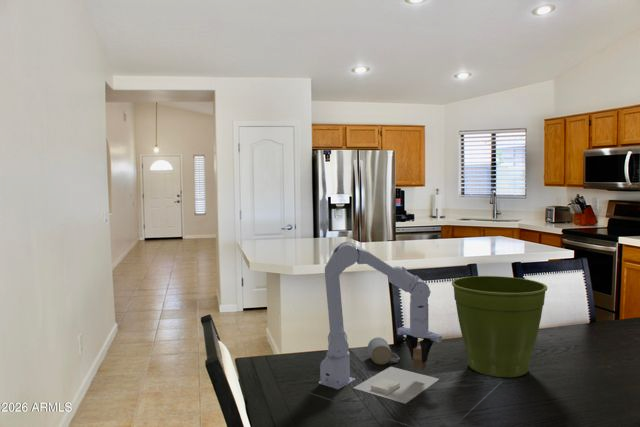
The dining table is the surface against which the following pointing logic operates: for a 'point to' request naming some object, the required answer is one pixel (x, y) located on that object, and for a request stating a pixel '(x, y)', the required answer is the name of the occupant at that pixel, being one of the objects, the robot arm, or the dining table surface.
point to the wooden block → (418, 358)
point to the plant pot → (499, 322)
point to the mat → (408, 384)
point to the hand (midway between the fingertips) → (419, 360)
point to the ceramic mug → (381, 351)
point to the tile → (385, 386)
